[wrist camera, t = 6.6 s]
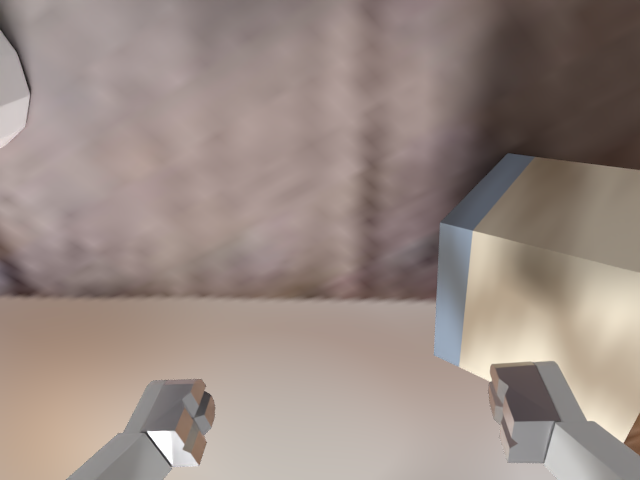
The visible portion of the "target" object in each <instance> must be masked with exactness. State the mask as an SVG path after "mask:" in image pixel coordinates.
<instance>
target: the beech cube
mask: <svg viewBox="0 0 640 480" xmlns="http://www.w3.org/2000/svg"><path fill="white" fill-rule="evenodd" d="M434 355H435V356H437V357H439V358H441V359H443V360H445V361H448V362H450V363H452V364H454V365H456V366H458V367H460V368H462V369H465V370H467V371H469V372H471V373H473V374H475V375H478V376H479V377H482V378H484V379H486V380H488V381H490V382H491V381H492V378H491V375H490V366H491V365H492V364H499V363H515V362H530V361H531V362H540V361H555V362H556V363H557V364H558V366H559V368H560V370H561V371H562V373H563V375H564V377H565V379H566V381H567V383H568V385H569V387H570V389H571V391H572V393H573V394H574V396H575V398H576V400H577V402H578V404H579V406H580V408H581V410H582V412H583V414H584V415H585V417H586V419H587V421H595V422H596V423H597V424H599V425H600V426H601V427H603V428H604V429H605V430H606V431H608V432H609V433H610V434H612V435H613V436H614V437H616V438H617V439H618V440H619V441H621V442H622V443H624V441H625V439H626V437H627V435H628V433H629V431H630V430H631V428H632V426H633V424H634V422H635V420H636V418H637V416H638V415H639V413H640V170H634V169H626V168H619V167H611V166H603V165H595V164H587V163H580V162H572V161H564V160H556V159H548V158H540V157H533V156H525V155H517V154H509V153H507V154H506V156H505V157H504V158H503V159H502V160H501V161H500V162H499V163H498V164H497V165H496V166H495V167H494V168H493V169H492V170H491V171H490V172H489V173H488V174H487V175H486V176H485V177H484V178H483V179H482V180H481V181H480V182H479V183H478V184H477V185H476V186H475V187H474V188H473V189H472V190H471V191H470V192H469V193H468V194H467V196H466V197H465V198H464V199H463V200H462V201H461V202H460V203H459V204H458V205H457V206H456V207H455V208H454V209H453V210H452V211H451V212H450V213H449V214H448V215H447V216H446V217H445V218H444V219H443V220H442V221H441V222H440V237H439V258H438V280H437V301H436V323H435V344H434Z"/></svg>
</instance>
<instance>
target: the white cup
mask: <svg viewBox="0 0 640 480" xmlns="http://www.w3.org/2000/svg"><path fill="white" fill-rule="evenodd" d="M29 100H30V92H29V89H28V86H27V82H26V79H25V76H24V73H23V70H22V66H21V63H20V60H19V57H18V54H17V52H16V51H15V50H14V48H13V47H12V45H11V44H10V43H9V41H8V40H7V38H6V37H5V36H4V34H3V33H2V31H1V30H0V148H2V147H4V146H5V145H7V144H8V143H9V142H10V141H11V140H12V139H13V138H14V137H15V136H16V135H17V134H18V133H19V132H20V131H21V130H22V129H23V128H25V126H26V120H27V114H28V107H29Z"/></svg>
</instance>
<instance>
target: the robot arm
mask: <svg viewBox="0 0 640 480" xmlns="http://www.w3.org/2000/svg"><path fill="white" fill-rule="evenodd" d="M490 375H491V378H492V381H491V382H490V383H489V387H488V394H489V402H490V407H491V411H492V414H493V418H494V420H495V421H496V422H497V423H498V424H499V425H500V435H499V437H500V441H501V444H502V446H503V450H504V453H505V456H506V459H507V462H508V463H544V466H545V467H546V468H547V469H548V470H549V471H550V472H551V473H552V474H553V475H554V476H555V478H556V479H557V480H640V456H639V455H638V454H636V453H635V452H634V451H633V450H631V449H630V448H629V447H627V446H626V445H625V444H623V443H622V442H621V441H619V440H618V439H617V438H616V437H614V436H613V435H612V434H610V433H609V432H608V431H606V430H605V429H604V428H603V427H601V426H600V425H599V424H597V423H596V422H595V421H587V419H586V417H585V415H584V414H583V412H582V410H581V408H580V406H579V404H578V402H577V400H576V398H575V396H574V394H573V393H572V391H571V389H570V387H569V385H568V383H567V381H566V379H565V377H564V375H563V373H562V371H561V370H560V368H559V366H558V364H557V363H556V362H555V361H540V362H531V361H530V362H515V363H499V364H492V365H491V366H490ZM205 387H206V385H205V383H204V382H203V380H202V379H188V380H155V381H151V382H150V383H149V384H148V385H147V387H146V389H145V391H144V393H143V395H142V397H141V399H140V401H139V403H138V405H137V407H136V409H135V411H134V413H133V414H132V416H131V418H130V420H129V422H128V424H127V426H126V428H125V430H124V432H123V433H119V434H117V435H116V436H115V437H114V438H113V439H111V440H110V441H109V442H108V443H107V444H106V445H105V446H103V447H102V448H101V449H100V450H99V451H98V452H97V453H95V454H94V455H93V456H92V457H91V458H90V459H89V460H88V461H86V462H85V463H84V464H83V465H82V466H81V467H80V468H79V469H77V470H76V471H75V472H74V473H73V474H72V475H70V476H69V477H68V478H67V479H66V480H163V479H164V478H165V477H166V476H167V474H168V473H169V472H170V471H171V469H172V468H171V467H185V466H199V465H200V462H201V459H202V456H203V453H204V449H205V446H206V443H207V442H206V439H205V436H204V435H205V434H206V433H207V432H208V431H209V430H210V429H211V427H212V424H213V421H214V417H215V404H214V400H213V398H212V396H211V395H210V394H209V393H207V392H205V391H204V390H205Z"/></svg>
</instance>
